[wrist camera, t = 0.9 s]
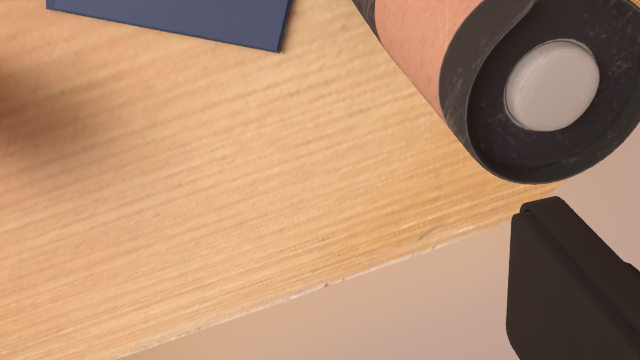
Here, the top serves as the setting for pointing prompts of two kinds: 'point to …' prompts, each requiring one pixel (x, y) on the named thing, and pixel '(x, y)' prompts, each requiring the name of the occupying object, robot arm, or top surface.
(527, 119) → the travel mug
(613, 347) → the robot arm
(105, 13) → the blue flat rectangular slab
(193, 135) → the top surface
